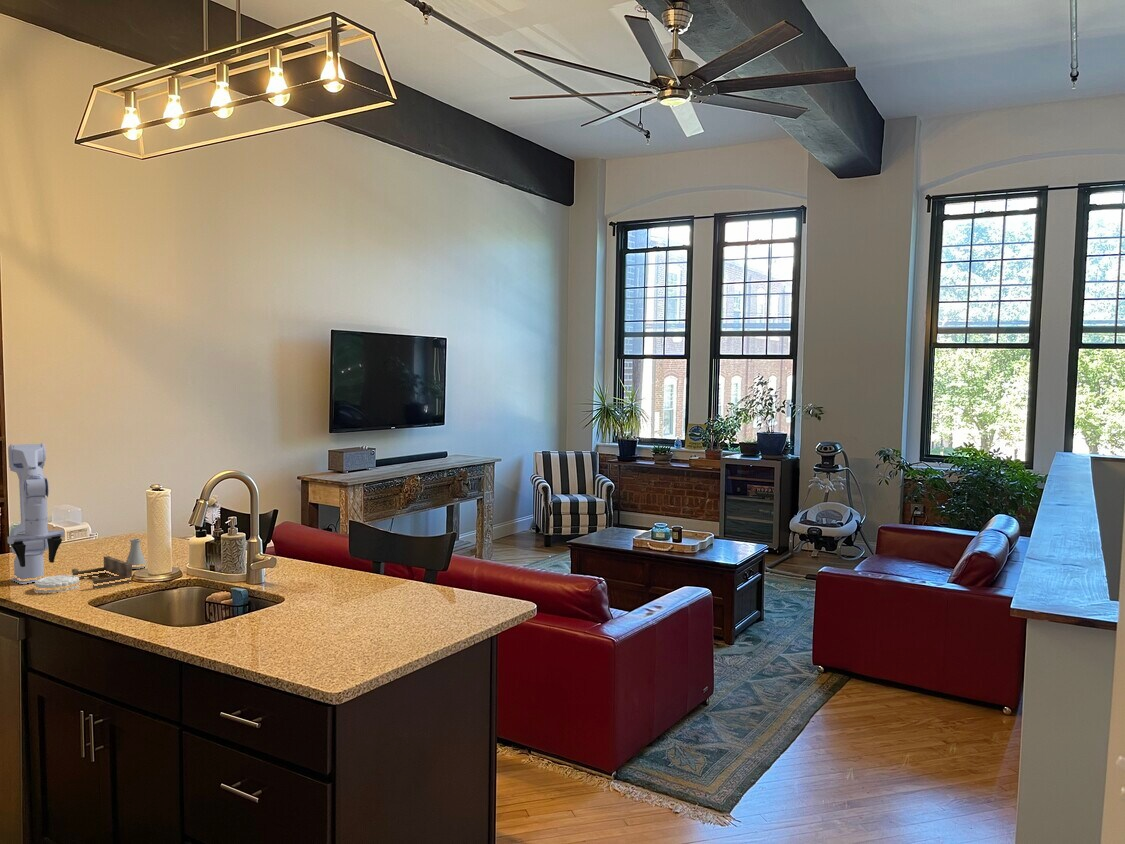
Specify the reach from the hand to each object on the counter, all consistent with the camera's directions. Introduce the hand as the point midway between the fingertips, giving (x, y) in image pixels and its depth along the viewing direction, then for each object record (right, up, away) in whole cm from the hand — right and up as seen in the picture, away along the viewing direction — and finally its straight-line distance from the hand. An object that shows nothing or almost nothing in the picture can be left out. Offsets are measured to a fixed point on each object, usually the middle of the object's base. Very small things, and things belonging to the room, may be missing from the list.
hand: (37, 564), depth 247 cm
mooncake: (+1, -10, +9) cm, 13 cm away
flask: (+10, -8, +37) cm, 40 cm away
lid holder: (+9, -9, +19) cm, 22 cm away
